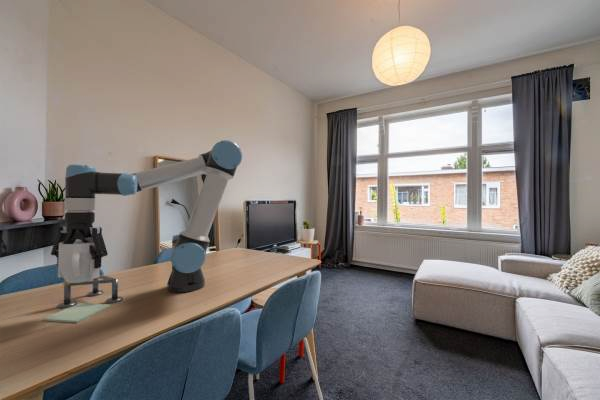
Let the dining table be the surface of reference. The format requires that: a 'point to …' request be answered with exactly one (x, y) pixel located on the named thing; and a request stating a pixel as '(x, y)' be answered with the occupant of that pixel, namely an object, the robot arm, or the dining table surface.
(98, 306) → the pad
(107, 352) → the dining table surface
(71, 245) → the mug
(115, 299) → the small metal rack
